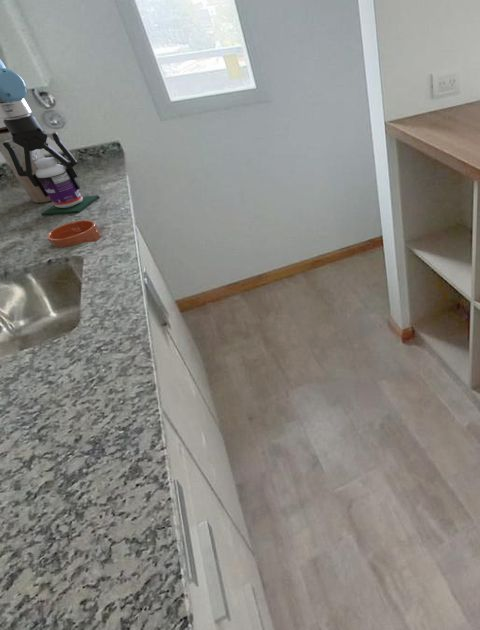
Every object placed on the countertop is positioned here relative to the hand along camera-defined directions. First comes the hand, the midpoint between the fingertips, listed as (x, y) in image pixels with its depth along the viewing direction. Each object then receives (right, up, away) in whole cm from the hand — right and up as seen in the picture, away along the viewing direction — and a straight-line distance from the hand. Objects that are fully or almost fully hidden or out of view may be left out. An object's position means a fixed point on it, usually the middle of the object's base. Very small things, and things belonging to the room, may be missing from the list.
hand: (62, 191), depth 141 cm
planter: (-14, +1, +12) cm, 18 cm away
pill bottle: (0, -3, +3) cm, 5 cm away
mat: (0, -4, +3) cm, 5 cm away
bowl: (+19, -19, -18) cm, 32 cm away
